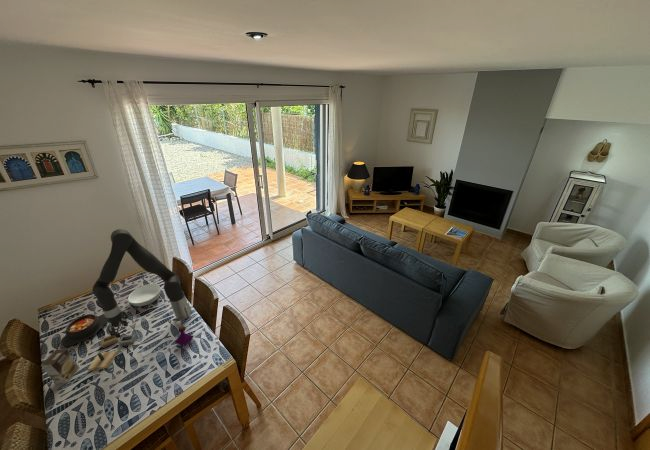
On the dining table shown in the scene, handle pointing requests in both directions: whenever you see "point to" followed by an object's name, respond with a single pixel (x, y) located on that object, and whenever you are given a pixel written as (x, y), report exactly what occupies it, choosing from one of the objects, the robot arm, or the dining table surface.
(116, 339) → the link
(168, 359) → the dining table surface
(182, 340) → the perfume bottle
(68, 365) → the coffee box
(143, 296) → the serving bowl
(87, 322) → the casserole
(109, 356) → the keeper
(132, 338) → the link
